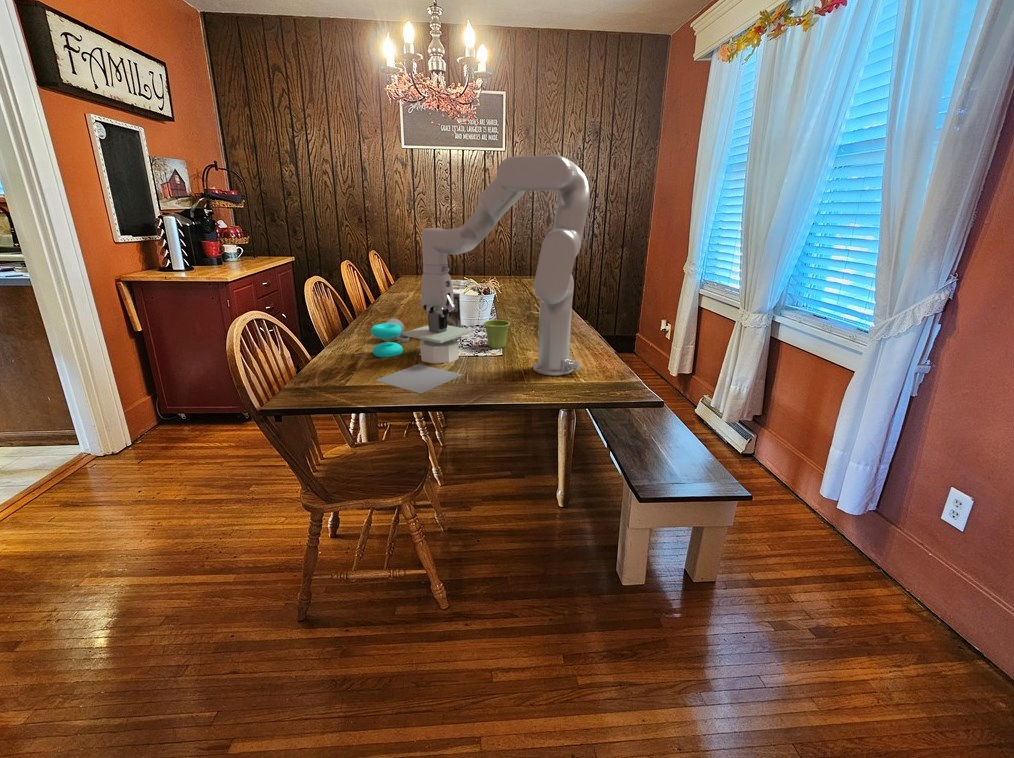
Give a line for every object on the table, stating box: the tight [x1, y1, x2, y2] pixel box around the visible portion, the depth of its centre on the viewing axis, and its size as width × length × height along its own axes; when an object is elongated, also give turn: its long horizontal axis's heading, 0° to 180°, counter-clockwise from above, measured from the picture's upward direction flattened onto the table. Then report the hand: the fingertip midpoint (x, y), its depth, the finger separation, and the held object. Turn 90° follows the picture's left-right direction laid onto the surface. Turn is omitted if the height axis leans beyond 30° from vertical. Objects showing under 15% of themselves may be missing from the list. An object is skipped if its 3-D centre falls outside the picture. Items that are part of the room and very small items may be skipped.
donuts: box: [370, 322, 404, 359], centre depth 161 cm, size 10×10×10 cm
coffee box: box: [435, 293, 462, 339], centre depth 183 cm, size 9×6×16 cm
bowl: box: [419, 338, 460, 364], centre depth 157 cm, size 12×12×6 cm
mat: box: [374, 363, 463, 394], centre depth 140 cm, size 18×18×1 cm
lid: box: [402, 311, 473, 343], centre depth 154 cm, size 16×16×7 cm
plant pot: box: [483, 319, 511, 349], centre depth 171 cm, size 9×9×9 cm
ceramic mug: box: [380, 317, 411, 343], centre depth 178 cm, size 11×8×8 cm
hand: (437, 326), depth 155 cm, fingers closed on lid, 4 cm apart
